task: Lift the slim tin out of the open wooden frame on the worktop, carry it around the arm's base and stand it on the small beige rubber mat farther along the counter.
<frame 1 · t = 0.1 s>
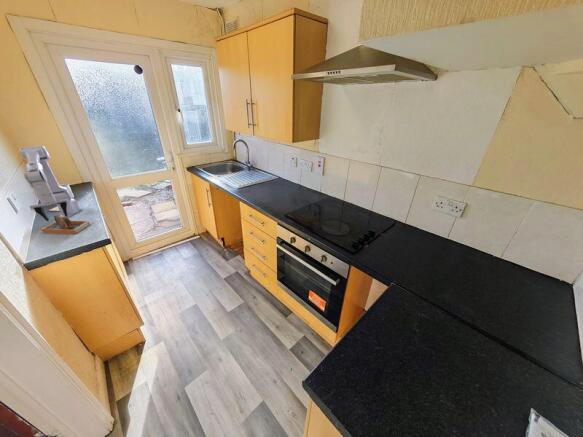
hand: (57, 218, 123), 10 cm above the table, tool pointing down, fingers open, 7 cm apart
wooden frame: (67, 228, 134), on the table
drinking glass: (69, 198, 171), on the table
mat: (60, 208, 156), on the table
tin: (67, 228, 134), resting in wooden frame
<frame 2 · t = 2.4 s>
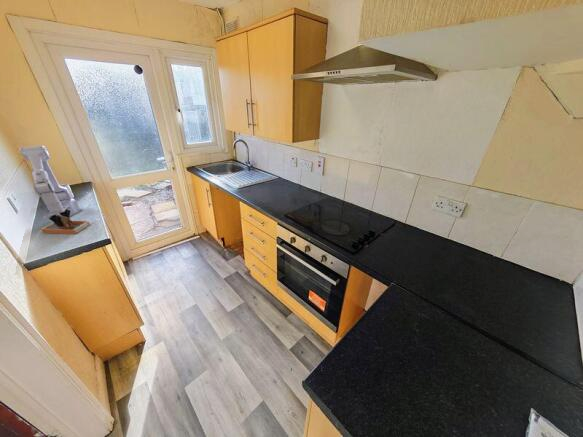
hand: (64, 224, 132), 3 cm above the table, tool pointing down, fingers closed on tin, 4 cm apart
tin: (66, 228, 133), resting in wooden frame, touching gripper
everything else where it was.
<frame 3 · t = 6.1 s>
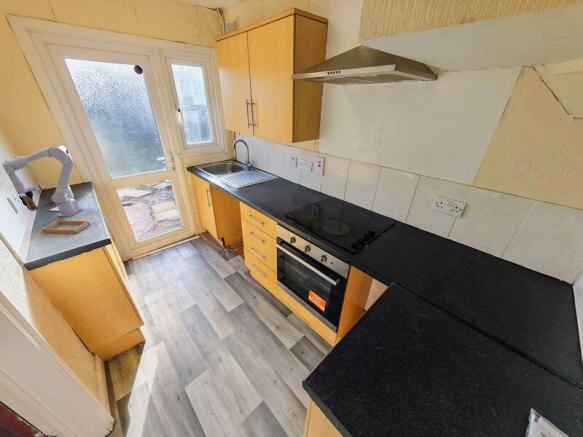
hand: (28, 204, 137), 10 cm above the table, tool pointing down, fingers closed on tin, 2 cm apart
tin: (32, 209, 139), point 7 cm above the table, touching gripper
everything else where it was.
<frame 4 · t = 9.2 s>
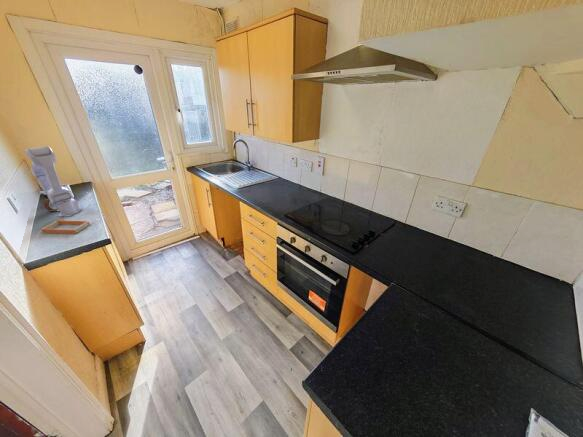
hand: (57, 203, 154), 3 cm above the table, tool pointing down, fingers closed on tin, 2 cm apart
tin: (60, 207, 156), resting on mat, touching gripper
everything else where it was.
when the fingers open (3 cm above the table, at t = 9.2 s): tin stays where it is, resting on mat.
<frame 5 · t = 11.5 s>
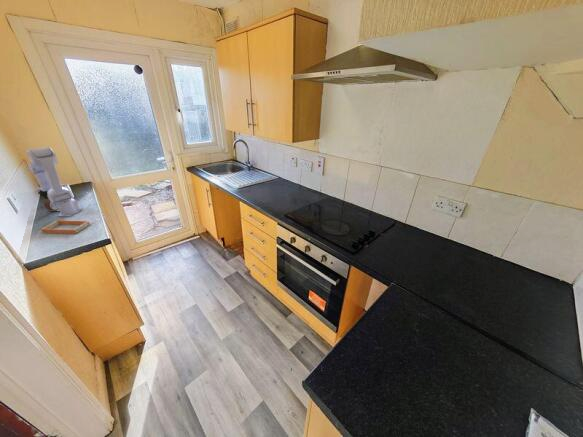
hand: (55, 200, 153), 6 cm above the table, tool pointing down, fingers open, 7 cm apart
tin: (60, 207, 156), resting on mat
everything else where it was.
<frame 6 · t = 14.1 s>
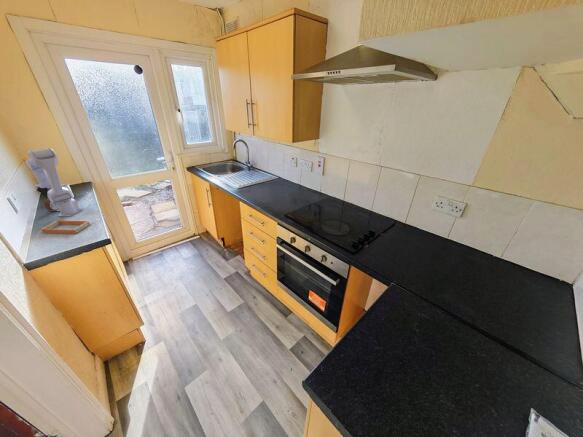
hand: (54, 197, 152), 8 cm above the table, tool pointing down, fingers open, 7 cm apart
nothing on the table moved.
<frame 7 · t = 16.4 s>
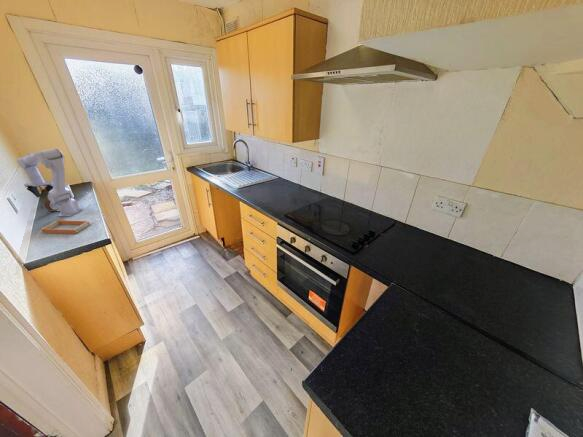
hand: (46, 196, 148), 10 cm above the table, tool pointing down, fingers open, 7 cm apart
nothing on the table moved.
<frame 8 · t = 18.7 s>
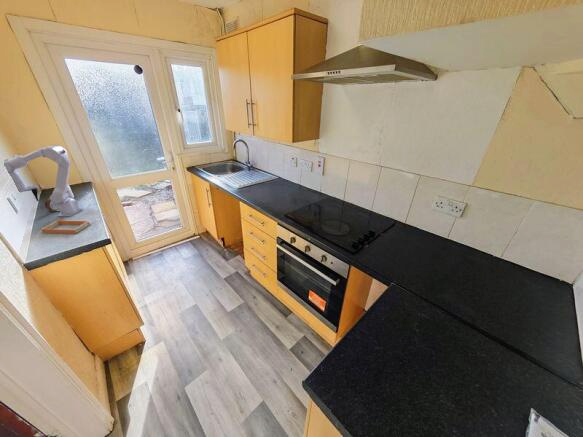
hand: (29, 202, 140), 10 cm above the table, tool pointing down, fingers open, 7 cm apart
nothing on the table moved.
at the end: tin inside the target area on the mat (0.5 cm from its centre), point 0.2 cm above the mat's base; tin moved 37.4 cm from its start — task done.
